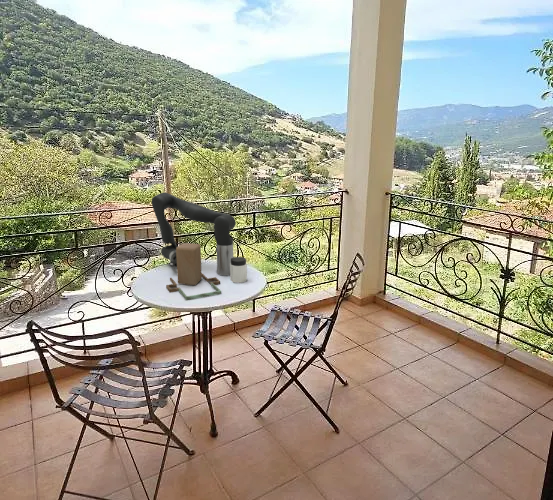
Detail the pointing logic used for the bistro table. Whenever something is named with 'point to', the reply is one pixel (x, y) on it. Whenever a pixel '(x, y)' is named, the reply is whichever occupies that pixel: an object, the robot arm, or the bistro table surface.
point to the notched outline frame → (211, 281)
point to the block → (189, 263)
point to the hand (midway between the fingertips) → (185, 266)
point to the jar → (238, 270)
